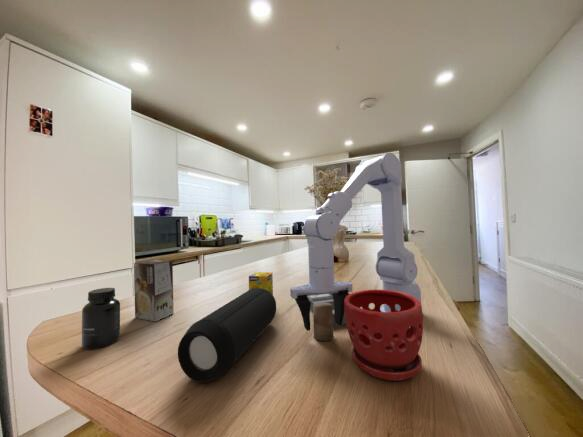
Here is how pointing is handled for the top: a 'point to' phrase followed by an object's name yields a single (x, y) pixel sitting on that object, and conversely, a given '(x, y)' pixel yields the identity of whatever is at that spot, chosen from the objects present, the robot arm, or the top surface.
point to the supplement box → (261, 281)
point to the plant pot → (385, 333)
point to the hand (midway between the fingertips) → (323, 326)
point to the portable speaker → (225, 335)
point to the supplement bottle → (100, 319)
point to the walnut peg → (323, 321)
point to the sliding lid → (320, 297)
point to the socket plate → (332, 308)
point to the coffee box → (153, 289)
